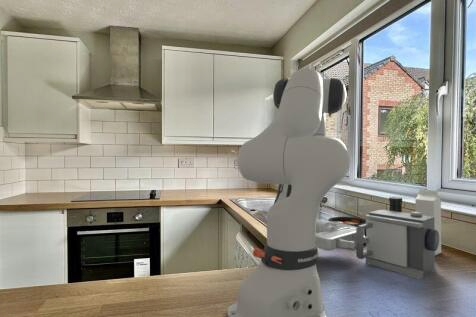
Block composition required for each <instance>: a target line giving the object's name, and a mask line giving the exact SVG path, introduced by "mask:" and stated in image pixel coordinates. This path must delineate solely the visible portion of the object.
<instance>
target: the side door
mask: <svg viewBox="0 0 476 317" xmlns="http://www.w3.org/2000/svg"><path fill="white" fill-rule="evenodd" d="M365 220H366V224H363V225H359V226H358V227H357V228H356V248H355V251H356V254H355V256H356V258H357V259H360V260H364V259H366V258H367V257H370V258H374V259H378V260H381V261H385V262H388V263H392V264H396V265H399V266H403V267H407V226H406V225H400V224H394V223H388V222H383V221H377V220H371V219H365ZM365 229H366V237H370V239H371V242H370V243H368V244H366V243H365V244H366V251H364V243H363V230H365Z"/></svg>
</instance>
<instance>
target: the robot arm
mask: <svg viewBox="0 0 476 317" xmlns="http://www.w3.org/2000/svg"><path fill="white" fill-rule="evenodd" d="M346 89H347V88H346V86H345V83H344V81H343V80H342V79H340V78H336V77H330V78H327V77H322V76H321V75H320V73H319V72H318V71H317V70H315V69H312V68H310V67H303V68H299V69H298V70H295V71H294V72H293V73H292V74H291V75H290V77H285V78H280V79H279V80H278V81H277V82H276V83H275V85H274V88H273V92H272V99H273V103H274V107H276V109H277V112H276V115H275V117H274V118H273V120H272V121H271V123H269V125H268V126H267V127H266V128H265V129H264V130H262V131H261V132H260V133H259V134H258V135H256V136H255V137H253V138H251V139H250V140H247V141H245V142H244V143H243V144H242V145H241V147H240V148H239V150H238V153H237V156H236V157H237V159H236V164H237V169H238V171H239V172H240V174H241V176H242V177H243V179H245V180H247V181H251V182H256V183H259V184H264V185H265V184H269V185H270V184H271V185H274V184H275V185H278V188H277V194H276V197H275V199H274V202H273V204H272V205H271V206H270V207H269V209H268V210H267V213H266V242H265V244H264V248H263V249H261V248H259V247H254V248H253V250H252V256H253V257H255V258H258V259H260V262H259V263H258V265H257V266H256V267H255V268H254V269H253V270H252V272H251V273H250V274H249V275H248V277H246V278H245V279H244V280H243V282H242V283H241V284H240V286H239V289H238V293H237V301H236V302H235V303H233V304H231V305H229V306H228V307H227V308H226V315H228V316H227V317H327V314H326V312H325V311H324V310H325V308H324V305H323V294H322V285H321V279H320V275H319V272H318V269H317V263H318V262H319V261H318V260H319V252H318V249H320V250H323V251H328V252H330V251H331V252H332V251H334V250H337V249H339V248H341V249H342V248H345V249H346V248H347V249H348V248H349V249H353V250H354V249H356V228H357V227H355V226H351V225H347V224H343V222H340V221H328V220H324V219H320V218H321V203H322V201H323V199H324V197H325V196H326V195H327V193H328V192H329V191H330V190H331V189H332V188H334V187H335V186H336V185H337V184H339V183H340V182H342V180H344V178H346V176H347V174H348V172H349V169H350V166H351V165H350V164H351V157H350V153H349V149H348V148H347V146H346V145H345V143H344V142H343V141H342V140H341V139H339V138H333V137H330V136H329V137H328V136H326V131H327V130H326V128H327V127H326V126H327V124H326V123H327V122H326V114H328V117H331V116H332V115H333V114H336V113H338V112H339V111H340V110H342V109H343V106H344V105H345V103H346V100H347V99H346V98H347V90H346ZM370 242H371V239H370V237H366V236H365V231H364V230H363V244H368V243H370Z"/></svg>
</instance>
